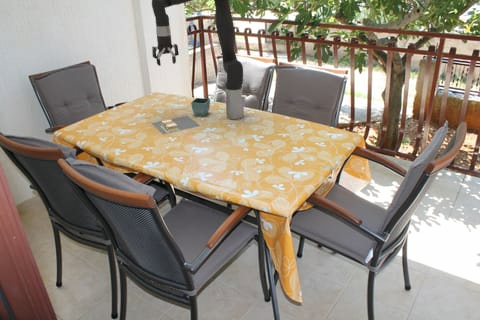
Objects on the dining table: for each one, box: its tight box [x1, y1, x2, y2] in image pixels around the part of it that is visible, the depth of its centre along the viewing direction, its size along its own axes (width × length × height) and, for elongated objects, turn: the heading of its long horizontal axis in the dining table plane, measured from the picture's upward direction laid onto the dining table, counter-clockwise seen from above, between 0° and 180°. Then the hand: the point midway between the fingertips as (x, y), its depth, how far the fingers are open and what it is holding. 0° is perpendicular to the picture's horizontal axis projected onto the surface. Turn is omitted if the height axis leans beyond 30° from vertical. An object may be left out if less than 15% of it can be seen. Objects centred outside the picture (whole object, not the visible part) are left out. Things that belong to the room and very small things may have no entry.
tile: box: [161, 118, 178, 133], centre depth 218 cm, size 10×5×3 cm, turn 30°
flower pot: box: [190, 97, 211, 117], centre depth 236 cm, size 9×9×9 cm
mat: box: [150, 115, 201, 135], centre depth 224 cm, size 22×19×1 cm
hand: (166, 64), depth 225 cm, fingers open, 8 cm apart
